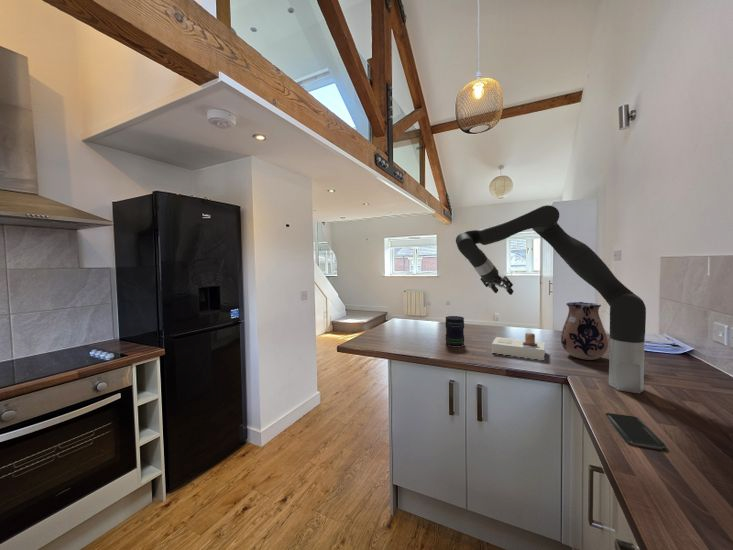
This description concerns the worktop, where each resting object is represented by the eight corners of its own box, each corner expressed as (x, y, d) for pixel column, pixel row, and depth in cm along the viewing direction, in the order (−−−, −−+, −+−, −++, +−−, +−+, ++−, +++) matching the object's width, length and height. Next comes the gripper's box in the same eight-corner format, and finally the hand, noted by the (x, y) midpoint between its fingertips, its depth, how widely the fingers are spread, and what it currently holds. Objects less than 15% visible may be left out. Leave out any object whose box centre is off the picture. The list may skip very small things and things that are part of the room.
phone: (627, 441, 73) (604, 412, 87) (627, 446, 73) (604, 416, 87) (669, 448, 70) (638, 416, 84) (669, 453, 70) (638, 420, 84)
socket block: (544, 360, 133) (544, 349, 133) (491, 353, 145) (491, 343, 144) (544, 352, 145) (544, 342, 145) (496, 346, 157) (496, 336, 156)
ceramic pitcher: (567, 361, 132) (568, 306, 130) (554, 348, 152) (554, 299, 150) (615, 365, 126) (616, 307, 125) (595, 350, 146) (595, 300, 145)
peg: (534, 352, 139) (534, 335, 139) (524, 351, 141) (524, 334, 141) (534, 350, 143) (535, 333, 142) (525, 348, 145) (525, 332, 144)
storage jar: (466, 343, 163) (466, 316, 162) (461, 348, 154) (461, 320, 154) (448, 341, 168) (448, 315, 167) (443, 345, 160) (442, 318, 159)
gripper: (502, 262, 127) (521, 287, 132) (478, 262, 140) (496, 285, 145) (493, 275, 125) (513, 300, 130) (469, 274, 138) (488, 297, 143)
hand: (504, 292), depth 138 cm, fingers open, 8 cm apart
